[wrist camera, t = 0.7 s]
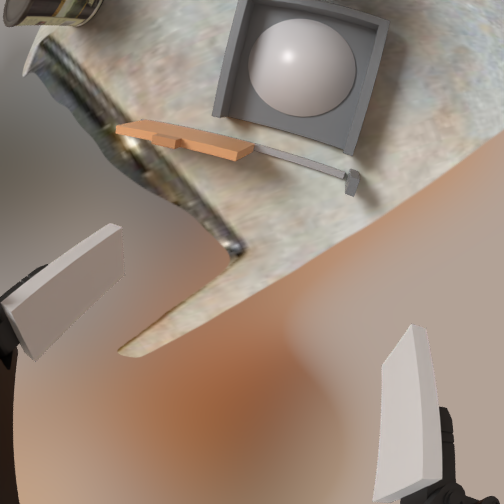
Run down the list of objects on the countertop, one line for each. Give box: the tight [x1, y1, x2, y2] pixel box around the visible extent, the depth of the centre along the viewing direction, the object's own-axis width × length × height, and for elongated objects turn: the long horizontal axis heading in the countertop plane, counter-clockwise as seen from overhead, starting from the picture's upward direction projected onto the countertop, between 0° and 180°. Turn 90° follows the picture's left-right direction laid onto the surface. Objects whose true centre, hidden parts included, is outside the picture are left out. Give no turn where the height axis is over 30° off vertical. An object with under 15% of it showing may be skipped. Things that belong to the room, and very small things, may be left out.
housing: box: [141, 0, 390, 197], centre depth 28 cm, size 20×30×4 cm
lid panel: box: [116, 120, 255, 161], centre depth 32 cm, size 1×16×7 cm, turn 78°
